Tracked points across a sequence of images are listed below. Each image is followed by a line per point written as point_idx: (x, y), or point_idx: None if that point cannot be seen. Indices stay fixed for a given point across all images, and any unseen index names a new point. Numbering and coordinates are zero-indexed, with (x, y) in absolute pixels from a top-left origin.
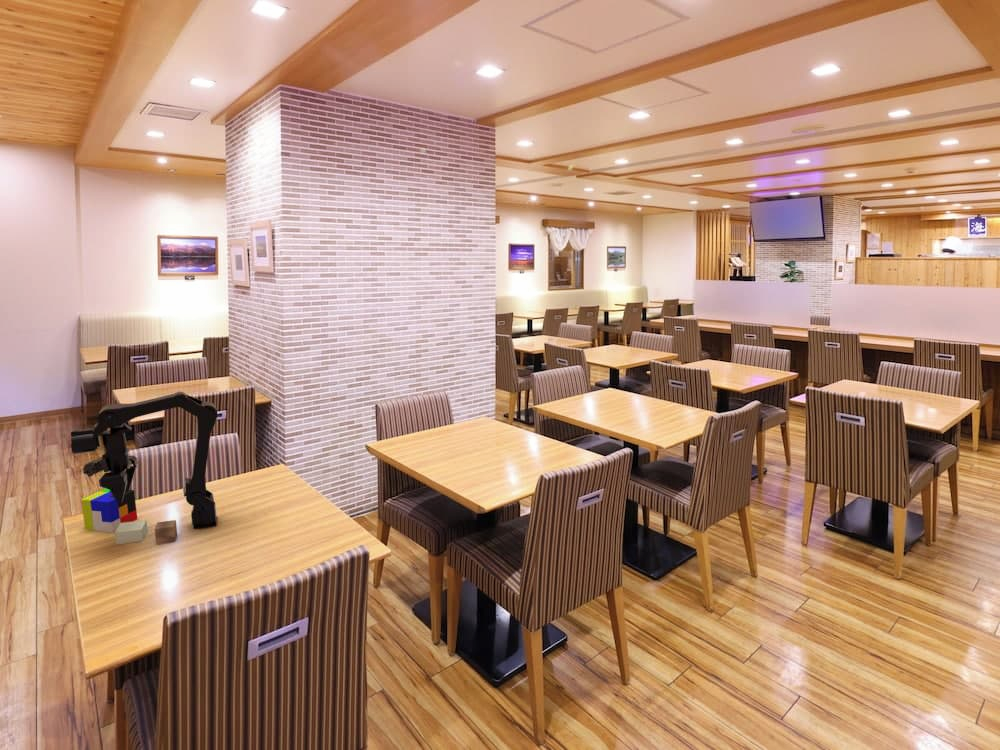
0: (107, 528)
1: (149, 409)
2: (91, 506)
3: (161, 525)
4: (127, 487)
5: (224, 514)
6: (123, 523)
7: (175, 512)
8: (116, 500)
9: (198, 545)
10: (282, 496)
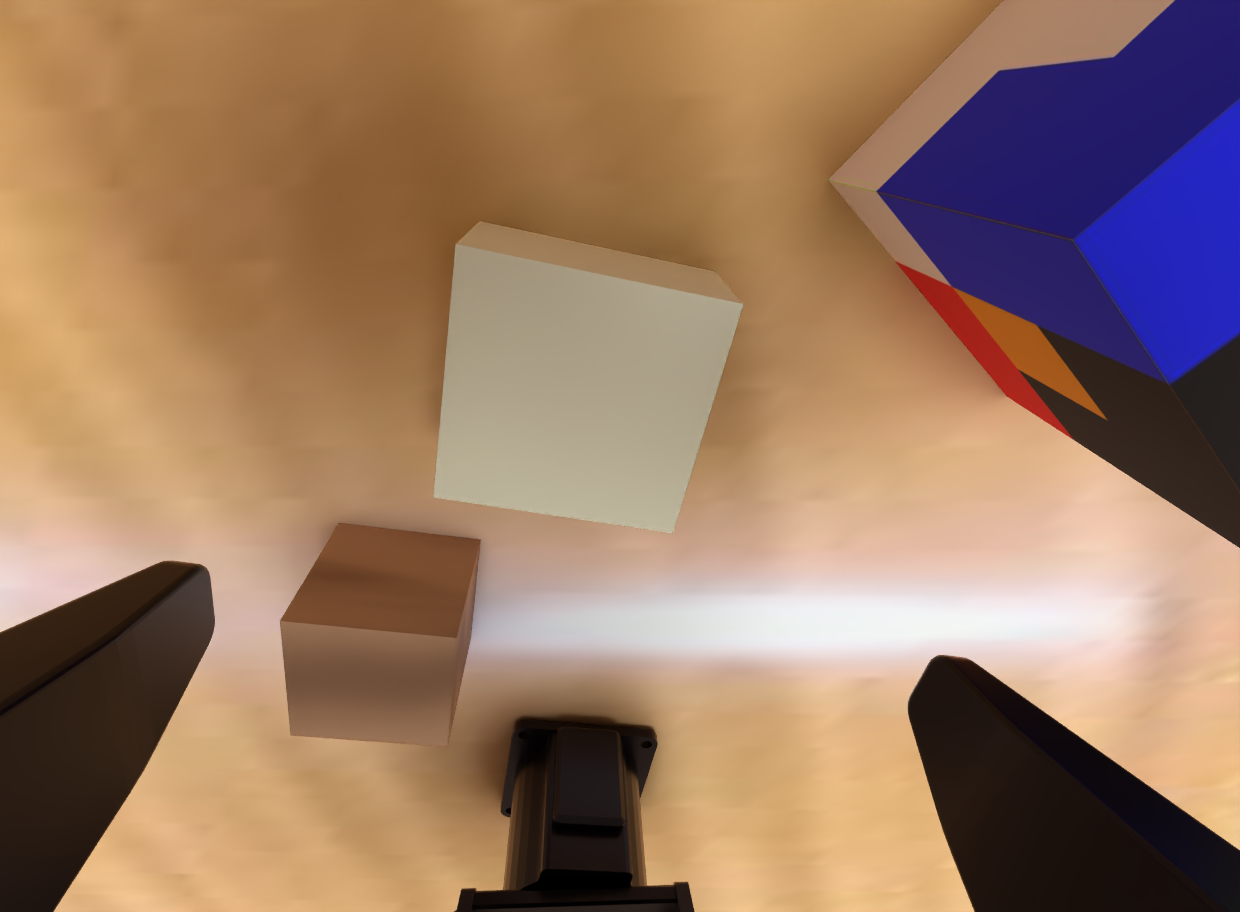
0: (893, 131)
1: None
2: None
3: (357, 665)
4: (967, 795)
5: (669, 835)
6: (707, 334)
7: (915, 634)
8: (47, 627)
9: (229, 730)
10: None
